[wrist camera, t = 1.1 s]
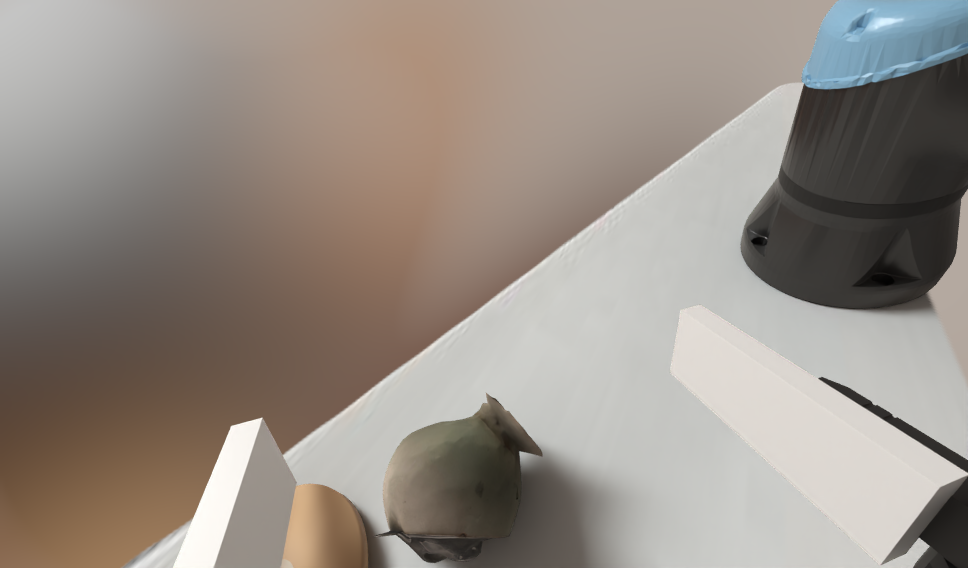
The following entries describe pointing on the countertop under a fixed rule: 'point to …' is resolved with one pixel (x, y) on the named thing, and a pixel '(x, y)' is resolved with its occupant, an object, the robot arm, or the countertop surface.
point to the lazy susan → (324, 531)
